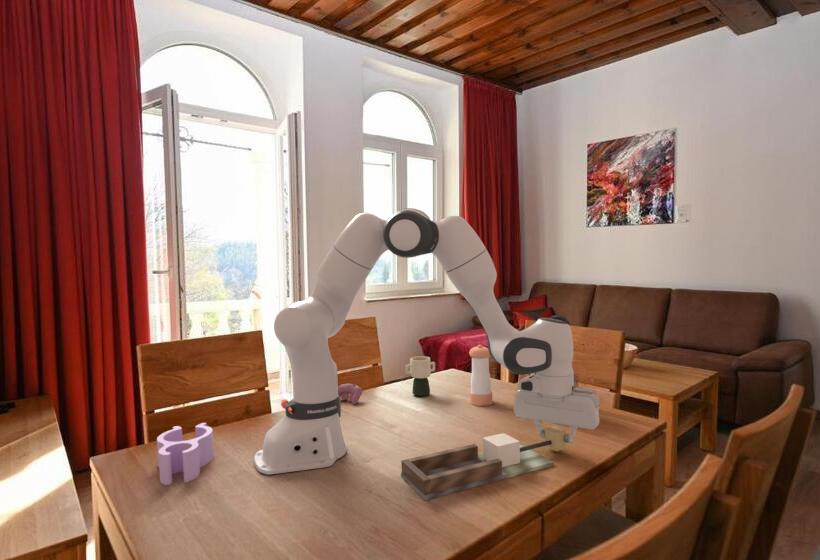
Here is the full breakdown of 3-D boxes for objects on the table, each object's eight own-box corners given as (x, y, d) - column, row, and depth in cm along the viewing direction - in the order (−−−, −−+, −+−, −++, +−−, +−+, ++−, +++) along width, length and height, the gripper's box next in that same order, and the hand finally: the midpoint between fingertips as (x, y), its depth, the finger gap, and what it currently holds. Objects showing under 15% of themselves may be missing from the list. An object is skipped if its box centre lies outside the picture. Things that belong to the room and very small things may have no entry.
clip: (207, 479, 111) (205, 449, 110) (146, 488, 107) (144, 457, 107) (216, 447, 130) (215, 421, 129) (165, 453, 126) (163, 427, 126)
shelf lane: (425, 500, 98) (425, 481, 98) (401, 476, 109) (400, 459, 109) (553, 465, 112) (553, 449, 112) (520, 447, 123) (520, 432, 122)
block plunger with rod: (498, 468, 109) (497, 446, 109) (483, 458, 114) (482, 437, 114) (568, 450, 118) (568, 429, 117) (551, 441, 123) (551, 422, 123)
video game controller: (360, 407, 165) (365, 386, 167) (353, 404, 161) (358, 383, 164) (338, 403, 170) (343, 383, 172) (330, 400, 166) (335, 380, 169)
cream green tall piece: (432, 390, 176) (431, 354, 175) (439, 395, 169) (438, 358, 169) (403, 394, 173) (402, 357, 172) (409, 399, 166) (408, 361, 165)
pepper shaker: (475, 407, 156) (474, 347, 155) (466, 400, 163) (465, 343, 162) (496, 404, 158) (495, 345, 157) (486, 398, 165) (485, 342, 164)
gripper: (602, 386, 116) (603, 443, 117) (520, 376, 127) (521, 428, 128) (595, 393, 111) (596, 453, 111) (510, 382, 122) (511, 436, 123)
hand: (555, 439), depth 120 cm, fingers closed on block plunger with rod, 5 cm apart
